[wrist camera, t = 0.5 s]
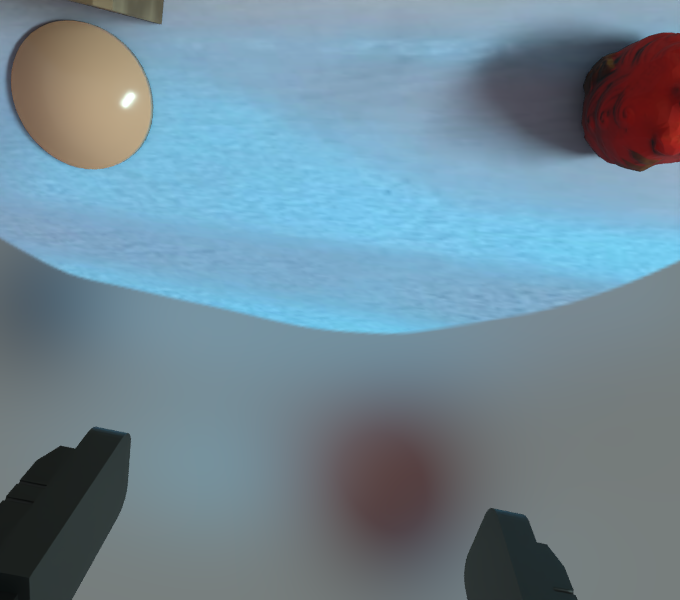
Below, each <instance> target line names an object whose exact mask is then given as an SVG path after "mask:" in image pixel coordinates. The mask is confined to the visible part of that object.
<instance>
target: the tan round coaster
mask: <svg viewBox="0 0 680 600" xmlns="http://www.w3.org/2000/svg"><path fill="white" fill-rule="evenodd" d="M11 90H12V96H13V101H14V104H15V108H16V111H17V113H18V115H19V118H20V120H21V122H22V123H23V125H24V127H25V129H26V130H27V131H28V133H29V134H30V136H31V137H32V138H33V139H34V140H35V141H36V143H37V144H38V145H39V146H41V147H42V148H43V149H44V150H45V151H46V152H48V153H49V154H50V155H52V156H53V157H55V158H56V159H58V160H60V161H62V162H64V163H66V164H69V165H72V166H75V167H79V168H84V169H103V168H107V167H111V166H114V165H117V164H119V163H122V162H124V161H125V160H127V159H129V158H130V157H131V156H133V155H134V154H135V153H136V152H137V151H138V150H139V149H140V147H141V146H142V145H143V143H144V141H145V140H146V138H147V136H148V133H149V131H150V127H151V124H152V118H153V98H152V92H151V88H150V84H149V81H148V78H147V76H146V74H145V72H144V69H143V67H142V66H141V64H140V62H139V61H138V59H137V58H136V56H135V55H134V54H133V53H132V51H131V50H130V49H129V48H128V47H127V46H126V45H125V44H124V43H123V42H122V41H121V40H119V39H118V38H117V37H116V36H114V35H113V34H111V33H110V32H108V31H106V30H104V29H102V28H100V27H98V26H95V25H92V24H89V23H84V22H79V21H69V20H64V21H56V22H52V23H48V24H46V25H44V26H42V27H39V28H38V29H36V30H35V31H34V32H32V33H31V34H30V35H29V36H28V37H27V38H26V39H25V40H24V42H23V43H22V44H21V46H20V48H19V49H18V51H17V53H16V56H15V59H14V62H13V66H12V71H11Z"/></svg>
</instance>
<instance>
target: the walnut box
mask: <svg viewBox="0 0 680 600" xmlns="http://www.w3.org/2000/svg"><path fill="white" fill-rule="evenodd" d="M69 1H73V2H77V3H81V4H85V5H88V6H92V7H96V8H100V9H104V10H108V11H112V12H116V13H119V14H123V15H127V16H131V17H135V18H139V19H143V20H147V21H150V22H154V23H158V24H161V23H162V13H163V2H164V0H69Z"/></svg>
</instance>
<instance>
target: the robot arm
mask: <svg viewBox="0 0 680 600" xmlns="http://www.w3.org/2000/svg"><path fill="white" fill-rule="evenodd" d="M130 443H131V438H130V434H129V433H124V432H119V431H114V430H109V429H104V428H99V427H93V428H92V429H91V430H90V431H89V432H88V433H87V434H86V435H85V437H84V438H83V439H82V441H81V442H80V443H79V445H78V446H77V447H76V448H75V449H74V448H69V447H64V446H59V447H58V448H56V449H55V450H53V451H52V452H50V453H48V454H46V455H45V456H43V457H41V458H40V459H38V460H37V461H36V462H35V463H34V464H33V465H32V467H31V468H30V469H29V470H28V471H27V472H26V474H25V475H24V476H23V477H22V478H21V480H20V482H19V484H16V485H15V486H14V488H13V489H12V490H11V491H10V492H9V494H8V495H7V496H6V499H5V501H2V502H1V503H0V600H72V598H73V596H74V595H75V593H76V591H77V589H78V587H79V586H80V584H81V582H82V580H83V578H84V577H85V575H86V573H87V571H88V569H89V568H90V566H91V564H92V562H93V561H94V559H95V557H96V555H97V553H98V552H99V550H100V548H101V546H102V544H103V543H104V541H105V539H106V537H107V535H108V534H109V532H110V530H111V528H112V526H113V525H114V523H115V521H116V519H117V517H118V515H119V513H120V511H121V509H122V506H123V503H124V500H125V496H126V492H127V486H128V472H129V458H130ZM464 582H465V589H466V594H467V599H468V600H577V597H576V595H574V594H573V588H572V585H571V583H570V580H569V578H568V575H567V573H566V570H565V568H564V566H563V565H562V564H561V562H560V561H559V560H558V558H557V557H556V556H555V554H554V553H553V552H552V551H551V549H550V548H549V547H548V545H546V544H542V543H537V542H536V539H535V537H534V534H533V531H532V529H531V526H530V523H529V521H528V519H527V517H526V516H525V515H523V514H518V513H512V512H508V511H503V510H498V509H493V508H490V509H489V510H488V511H487V512H486V514H485V516H484V519H483V521H482V523H481V525H480V528H479V530H478V532H477V535H476V537H475V540H474V542H473V544H472V546H471V549H470V551H469V553H468V556H467V559H466V563H465V572H464Z"/></svg>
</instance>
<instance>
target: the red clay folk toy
mask: <svg viewBox="0 0 680 600" xmlns="http://www.w3.org/2000/svg"><path fill="white" fill-rule="evenodd" d="M583 86H584V92H585V99H584V103H583V112H582V122H581V123H582V126H583V129H584V133H585V135H584V138H585V139H586V141H587V142H588V144H589V145H590V146H591V148H592V149H593V150H594V151H595V152H596V153H597V155H598V156H599V157H601V158H602V159H604V160H605V161H606V162H608V163H612V164H616V165H618V166H620V167H623V168H626V169H630V170H635V171H639V172H640V171H644V170H646V169H648V168H650V167H652V166H654V165H657V164H663V163H674V162H680V33H676V34H675V33H659V34H655V35H651V36H648V37H646V38H644V39H642V40H640V41H638V42H635V43H633V44H631V45H629V46H627V47H625V48H623V49H622V50H620V51H619V52H616V53H612V54H608V55H606V56H604V57H602V58H601V59H600V60H599V61H598V62H597V63H596V64H595V65H594V66H593V67H592V69H591V70H590V71H589V73H588V74H587V76H586V79H585V82H584V85H583Z"/></svg>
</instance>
